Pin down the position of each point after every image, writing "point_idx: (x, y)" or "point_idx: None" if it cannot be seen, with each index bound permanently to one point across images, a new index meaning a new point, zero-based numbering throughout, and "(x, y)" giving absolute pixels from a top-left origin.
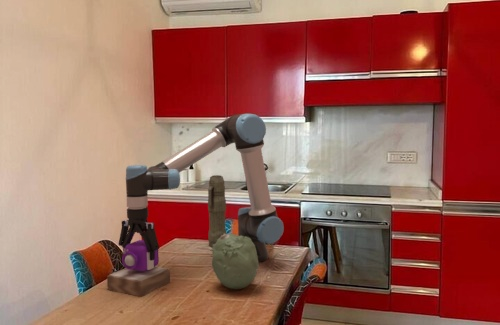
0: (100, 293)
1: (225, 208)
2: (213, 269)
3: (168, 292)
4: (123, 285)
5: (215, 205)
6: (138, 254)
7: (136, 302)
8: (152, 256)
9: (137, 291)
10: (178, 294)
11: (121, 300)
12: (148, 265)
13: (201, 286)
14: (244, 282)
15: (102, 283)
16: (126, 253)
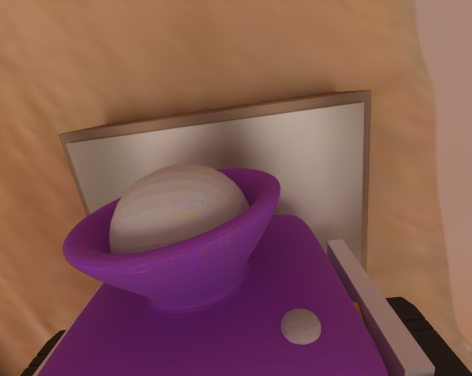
0: (324, 26)
1: None
2: None
3: (63, 229)
4: (217, 110)
5: None
6: (121, 324)
7: (58, 58)
8: (27, 369)
9: (118, 123)
10: (13, 235)
11: (140, 27)
12: (101, 284)
13: (28, 333)
14: None
15: (430, 136)
16: (200, 236)
